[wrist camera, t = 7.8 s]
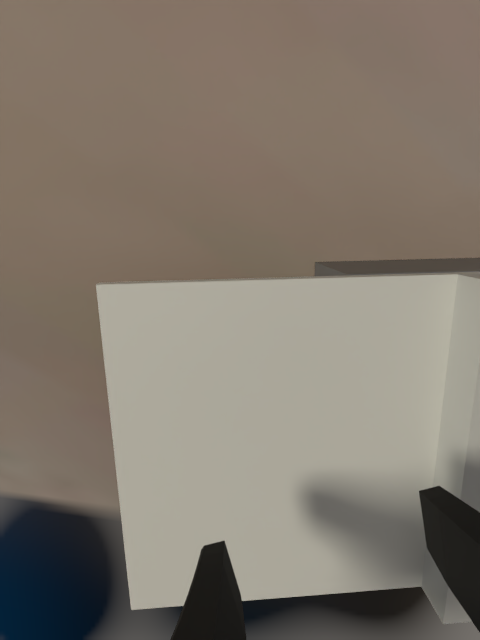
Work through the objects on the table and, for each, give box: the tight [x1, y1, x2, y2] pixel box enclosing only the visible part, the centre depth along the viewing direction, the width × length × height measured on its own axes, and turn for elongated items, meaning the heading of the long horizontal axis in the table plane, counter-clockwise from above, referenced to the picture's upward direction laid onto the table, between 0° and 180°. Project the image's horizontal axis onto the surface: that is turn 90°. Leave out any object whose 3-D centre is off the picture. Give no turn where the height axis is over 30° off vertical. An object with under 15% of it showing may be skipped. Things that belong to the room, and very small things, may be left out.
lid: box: [96, 272, 480, 624], centre depth 15 cm, size 14×14×2 cm
